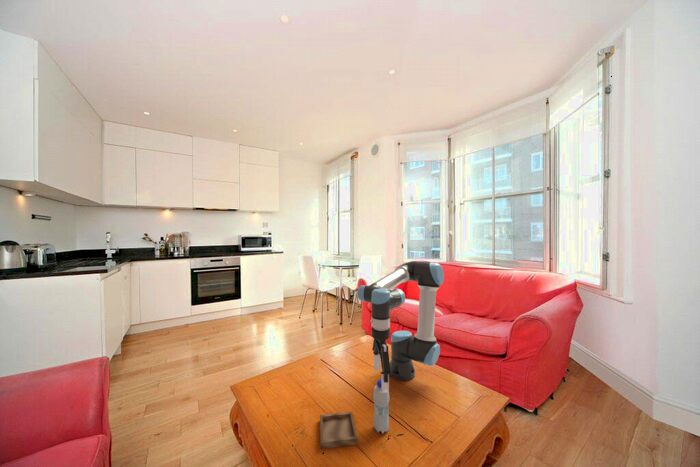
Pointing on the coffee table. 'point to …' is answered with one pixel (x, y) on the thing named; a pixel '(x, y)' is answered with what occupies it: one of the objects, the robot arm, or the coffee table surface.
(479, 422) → the coffee table surface
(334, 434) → the tray
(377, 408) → the bottle
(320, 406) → the coffee table surface
